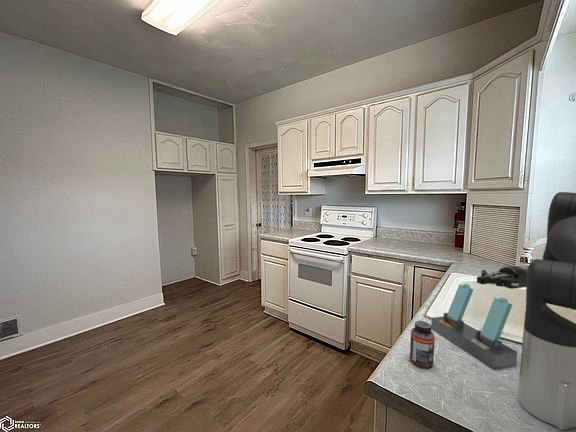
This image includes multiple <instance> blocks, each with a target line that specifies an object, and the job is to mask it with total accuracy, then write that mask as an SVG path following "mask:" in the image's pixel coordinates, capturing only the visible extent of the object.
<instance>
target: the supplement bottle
mask: <svg viewBox="0 0 576 432" xmlns="http://www.w3.org/2000/svg"><path fill="white" fill-rule="evenodd" d="M435 340H436V339H435V334H434V332H433V331H432V329H431V323H429V322H427V321H424V320H417V321H415V322H414V327H412V329H411V330H410V342H409V343H410V345H409V346H410V348H409V360H410V361H411V362H412V364H414V365H415V366H417V367H419V368H422V369H429V368H432V367H433V365H434V359H435V358H434V357H435V343H436V341H435Z"/></svg>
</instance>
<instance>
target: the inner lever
mask: <svg viewBox="0 0 576 432" xmlns="http://www.w3.org/2000/svg"><path fill="white" fill-rule="evenodd" d="M512 307H513V303H510V302H508V299H507V298H506V297H502V296H501V297H500V298H497V297H493V300H492V303H491V306H490V307H489V310H488V312H487V314H486V315H487V316H486V318H485V321H484V322H483V326H482V328H481V333H480V335H479V337H480V338H481V339H483V340H484V341H486V342H488V343H490V344H492V345H493V346H494V344H495V341H500V338H501V335H502V333H503V330H504V328H505V325H506V323H507V320H508V317H509V314H510V312H511V309H512Z"/></svg>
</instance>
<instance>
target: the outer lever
mask: <svg viewBox="0 0 576 432" xmlns="http://www.w3.org/2000/svg"><path fill="white" fill-rule="evenodd" d="M473 293H474V288H471V287H470V284H469V283H464V284H460V283H459V285H458V287H457V289H456V291H455V294H454V297H453V299H452V302H451V304H450V307H449V309H448V312H447V313H448V314H447V316H446V319H448V320H449V321H451V322H453V323H455V324H456V325H457V324H458V321H460V320H462V321H463V316H464V315H465V313H466V310H467V307H468V304H469V302H470V299H471V297H472V295H473Z"/></svg>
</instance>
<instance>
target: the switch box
mask: <svg viewBox="0 0 576 432" xmlns="http://www.w3.org/2000/svg"><path fill="white" fill-rule="evenodd" d="M447 314H448V312H443V316H434V317H431V323H430V325H431V330H432V329H433V331H434V332H436V333H437V334H439V335H441V337H443V338H445V339H446V340H448V341H449V342H451V343H452V344H454V345H455V346H457V347H459V349H461V350H463V351H465V352H466V353H468V354H469V355H470V356H472V357H473V358H474V359H477V360H478V361H480V362H481V363H482V364H484V365H485V366H487V367H489V368H490V369H492V370H498V369H505V368H509V367H515V366H517V358H518V351H517V350H515V349H513V348H511V347H509V346H507V345H506V344H504V343H503V341H501V340H498V341H495V344H494V346H493V345H492V344H490V343H488V342H486V341H484V340H483V339H481V338H480V337H479V335H480V333H481V331H482V329H481V330H479V329H476V328H474V327H472V326H471V325H468V324H466V323H465V322H464V320H463V319H462V320H460V321H458V324H457V325H456V324H455V323H453V322H451V321H449V320H448V319H446V316H447Z"/></svg>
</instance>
